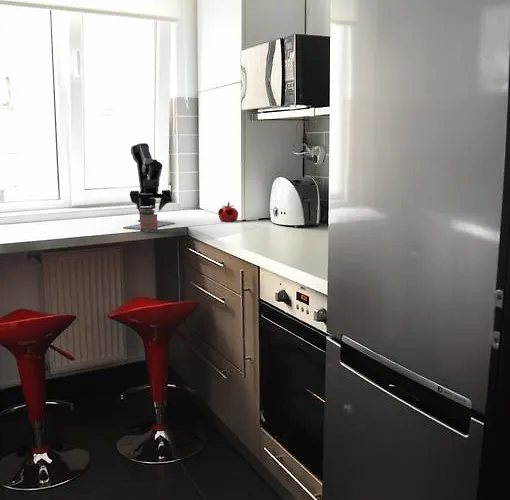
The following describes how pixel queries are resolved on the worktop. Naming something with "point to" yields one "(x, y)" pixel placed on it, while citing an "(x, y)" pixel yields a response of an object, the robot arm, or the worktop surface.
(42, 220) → the worktop surface
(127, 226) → the mat
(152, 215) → the lighter
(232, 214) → the pomegranate
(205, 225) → the worktop surface
